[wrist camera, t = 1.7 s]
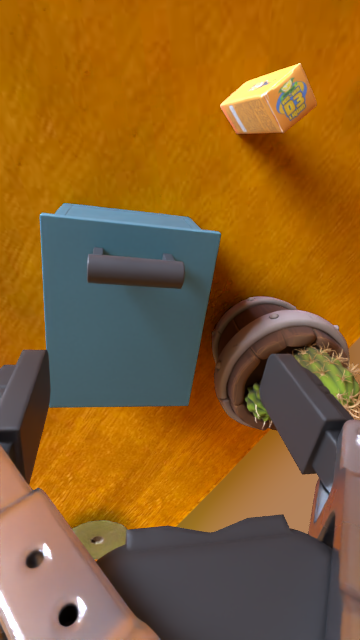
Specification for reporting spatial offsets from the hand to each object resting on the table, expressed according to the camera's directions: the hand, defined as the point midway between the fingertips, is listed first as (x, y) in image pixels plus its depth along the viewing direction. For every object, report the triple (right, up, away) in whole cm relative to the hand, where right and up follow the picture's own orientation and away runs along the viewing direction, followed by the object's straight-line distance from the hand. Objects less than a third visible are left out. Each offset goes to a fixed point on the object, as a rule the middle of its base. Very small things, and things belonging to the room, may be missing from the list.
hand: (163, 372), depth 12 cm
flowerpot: (+10, +1, +32) cm, 34 cm away
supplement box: (+7, +22, +20) cm, 30 cm away
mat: (-14, -35, +46) cm, 59 cm away
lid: (-4, +2, +16) cm, 16 cm away
